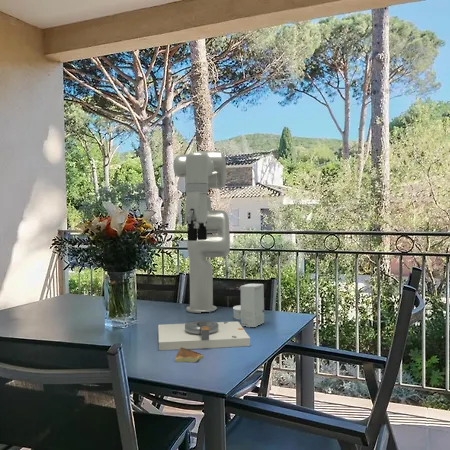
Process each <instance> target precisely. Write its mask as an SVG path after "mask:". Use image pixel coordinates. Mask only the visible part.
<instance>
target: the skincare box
mask: <svg viewBox="0 0 450 450" xmlns="http://www.w3.org/2000/svg"><path fill="white" fill-rule="evenodd" d="M264 289H265V284H263V283H246V284H243V285H240V305H241V320H240V325H241V326H242V327H244V326H246V327H245V328H250V327H256V326H258V325H260V324H262V323H264V324H265V297H264V296H265V295H264V294H265V290H264ZM262 325H263V324H262ZM260 326H261V325H260ZM258 327H259V326H258ZM256 328H257V327H256Z"/></svg>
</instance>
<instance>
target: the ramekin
mask: <svg viewBox="0 0 450 450" xmlns="http://www.w3.org/2000/svg"><path fill="white" fill-rule="evenodd" d="M232 310H233V318H234V319H235V318H236V319H241V304H239V305H233V307H232ZM236 319H235V320H236Z"/></svg>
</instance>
